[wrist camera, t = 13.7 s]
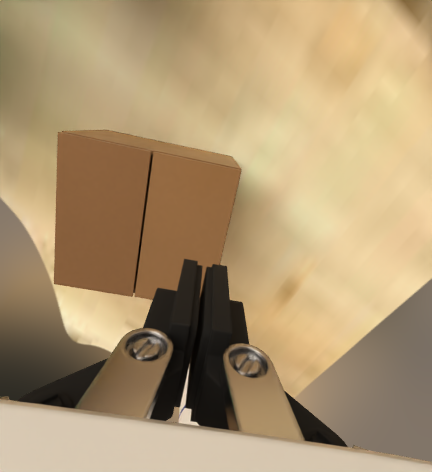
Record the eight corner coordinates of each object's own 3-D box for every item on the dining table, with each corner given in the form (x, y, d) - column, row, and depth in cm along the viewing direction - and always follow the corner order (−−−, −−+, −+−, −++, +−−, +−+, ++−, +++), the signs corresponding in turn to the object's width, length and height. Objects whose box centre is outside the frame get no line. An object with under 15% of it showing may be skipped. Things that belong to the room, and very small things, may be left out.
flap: (241, 169, 21) (241, 170, 21) (209, 307, 25) (209, 309, 25) (154, 151, 21) (153, 151, 21) (135, 294, 25) (134, 296, 24)
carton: (232, 156, 31) (242, 170, 21) (209, 259, 34) (210, 310, 25) (105, 129, 29) (56, 131, 20) (97, 239, 33) (52, 284, 24)
